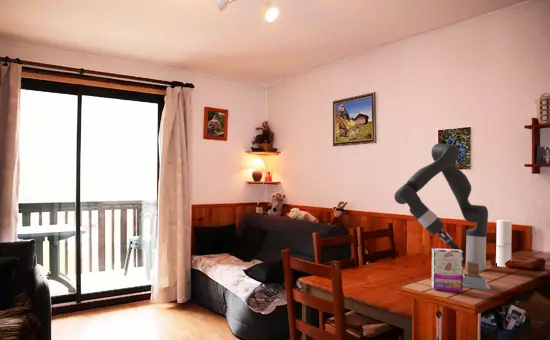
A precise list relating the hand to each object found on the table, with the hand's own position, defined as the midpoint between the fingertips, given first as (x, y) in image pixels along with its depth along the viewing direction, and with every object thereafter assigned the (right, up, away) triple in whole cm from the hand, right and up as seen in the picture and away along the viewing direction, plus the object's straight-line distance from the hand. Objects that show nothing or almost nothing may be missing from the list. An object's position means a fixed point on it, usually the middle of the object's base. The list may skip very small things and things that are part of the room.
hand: (458, 250), depth 171 cm
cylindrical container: (+46, -18, +44) cm, 66 cm away
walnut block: (+5, -14, -3) cm, 15 cm away
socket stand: (+5, -15, -2) cm, 16 cm away
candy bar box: (-10, -14, -12) cm, 21 cm away
